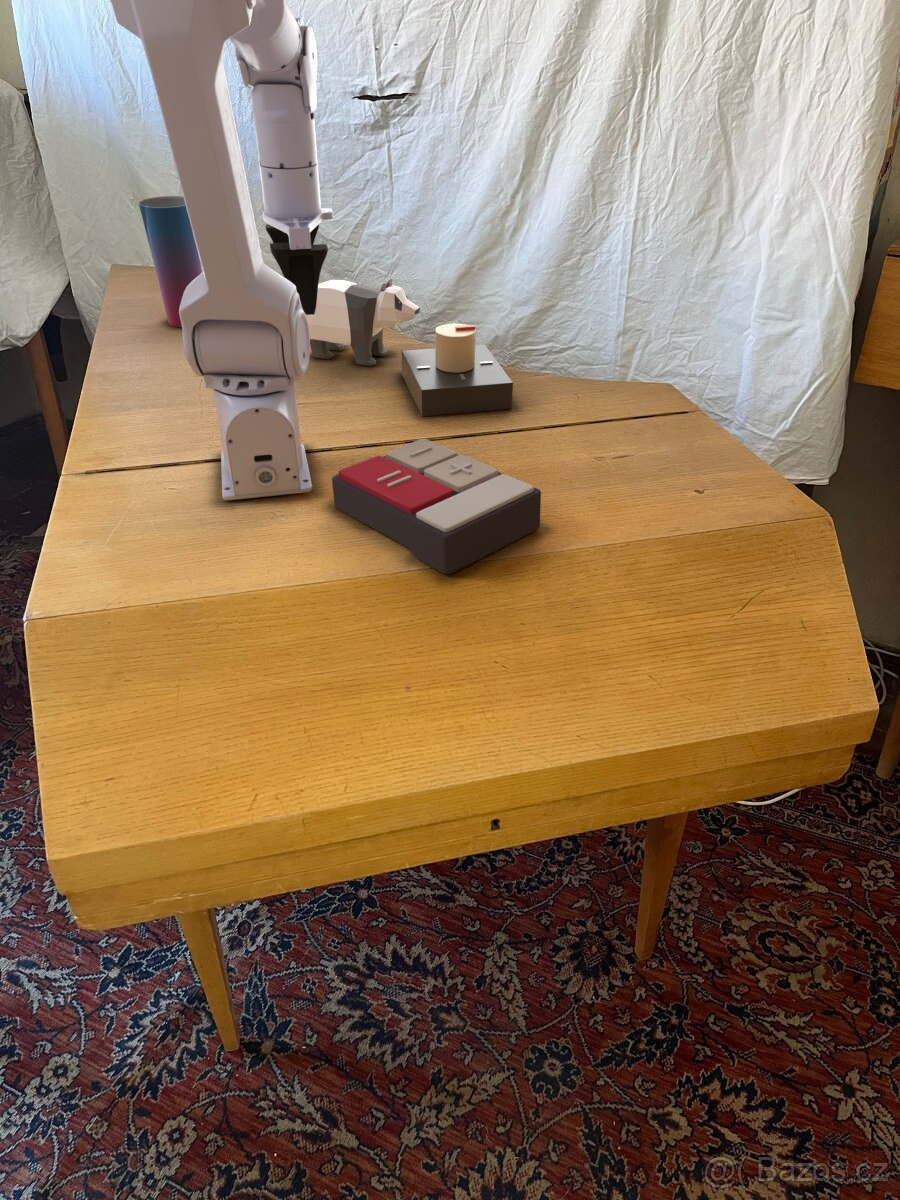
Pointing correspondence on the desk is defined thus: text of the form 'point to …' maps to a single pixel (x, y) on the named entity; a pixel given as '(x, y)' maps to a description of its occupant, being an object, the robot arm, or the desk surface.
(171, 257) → the cup
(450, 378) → the panel
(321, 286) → the giant panda
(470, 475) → the calculator
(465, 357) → the dial
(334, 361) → the desk surface
